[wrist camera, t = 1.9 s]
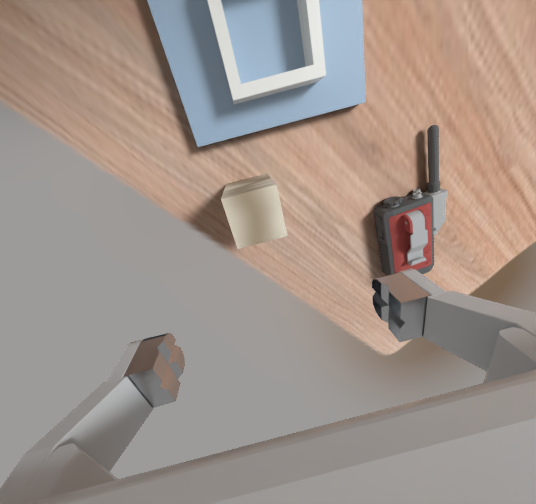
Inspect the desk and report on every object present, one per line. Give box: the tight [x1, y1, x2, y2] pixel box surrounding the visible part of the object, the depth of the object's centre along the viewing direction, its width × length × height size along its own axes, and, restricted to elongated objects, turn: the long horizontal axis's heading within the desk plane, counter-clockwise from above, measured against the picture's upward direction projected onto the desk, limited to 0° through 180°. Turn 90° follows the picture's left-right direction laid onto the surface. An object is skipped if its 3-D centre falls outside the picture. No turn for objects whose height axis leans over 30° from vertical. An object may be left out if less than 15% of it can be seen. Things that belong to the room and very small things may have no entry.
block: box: [221, 173, 287, 249], centre depth 24 cm, size 5×5×8 cm
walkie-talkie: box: [374, 125, 447, 275], centre depth 29 cm, size 9×4×20 cm
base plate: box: [147, 0, 366, 147], centre depth 20 cm, size 18×14×4 cm
